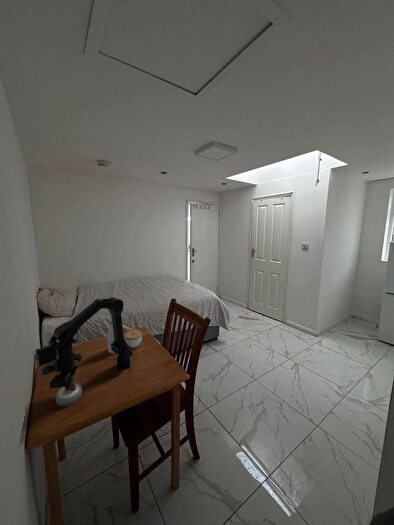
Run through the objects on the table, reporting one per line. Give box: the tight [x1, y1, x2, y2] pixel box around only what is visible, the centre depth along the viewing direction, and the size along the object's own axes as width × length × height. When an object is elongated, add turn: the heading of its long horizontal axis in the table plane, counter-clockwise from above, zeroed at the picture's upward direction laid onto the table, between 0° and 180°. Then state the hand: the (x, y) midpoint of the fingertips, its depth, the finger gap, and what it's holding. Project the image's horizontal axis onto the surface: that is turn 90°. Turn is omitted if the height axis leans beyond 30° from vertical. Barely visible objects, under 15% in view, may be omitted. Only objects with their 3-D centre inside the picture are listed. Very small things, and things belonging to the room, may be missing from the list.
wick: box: [65, 374, 77, 391], centre depth 93 cm, size 4×1×7 cm, turn 101°
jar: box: [55, 382, 83, 407], centre depth 94 cm, size 10×10×4 cm
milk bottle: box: [106, 318, 115, 354], centre depth 129 cm, size 8×8×20 cm
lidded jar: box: [124, 329, 143, 349], centre depth 136 cm, size 11×11×9 cm
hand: (68, 386), depth 93 cm, fingers closed on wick
